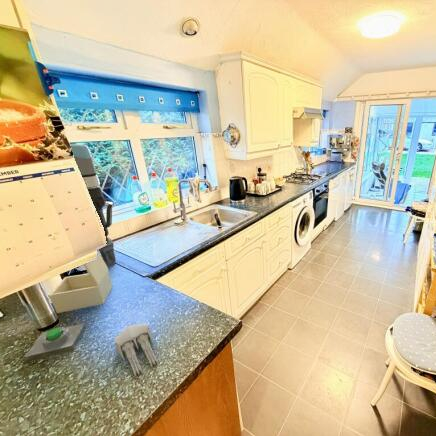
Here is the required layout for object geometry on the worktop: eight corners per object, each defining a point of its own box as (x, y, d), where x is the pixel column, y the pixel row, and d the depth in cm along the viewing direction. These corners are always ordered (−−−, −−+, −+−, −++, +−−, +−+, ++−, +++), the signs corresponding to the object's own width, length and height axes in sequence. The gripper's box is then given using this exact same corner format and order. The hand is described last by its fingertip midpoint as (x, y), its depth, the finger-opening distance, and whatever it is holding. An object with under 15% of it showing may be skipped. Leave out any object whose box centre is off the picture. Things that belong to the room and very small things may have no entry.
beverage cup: (99, 266, 125) (87, 232, 118) (111, 259, 132) (101, 226, 124) (109, 268, 123) (99, 233, 116) (122, 261, 130) (112, 228, 123)
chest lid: (75, 252, 88) (90, 248, 90) (88, 238, 99) (101, 235, 101) (96, 286, 95) (110, 281, 97) (106, 269, 106) (119, 266, 108)
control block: (26, 362, 74) (21, 352, 73) (44, 337, 83) (40, 328, 81) (73, 350, 78) (70, 341, 77) (86, 328, 87) (82, 319, 85)
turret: (130, 386, 70) (126, 377, 67) (113, 339, 81) (109, 330, 79) (165, 364, 76) (163, 355, 74) (145, 323, 88) (143, 314, 86)
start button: (45, 341, 77) (43, 337, 76) (51, 333, 80) (49, 329, 79) (59, 338, 78) (57, 334, 78) (64, 330, 81) (62, 326, 81)
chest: (56, 313, 93) (48, 295, 90) (71, 293, 104) (64, 277, 101) (103, 303, 99) (98, 286, 96) (113, 286, 110) (107, 270, 106)
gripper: (60, 191, 83) (82, 250, 91) (105, 188, 87) (121, 244, 96) (70, 186, 89) (89, 241, 98) (111, 183, 94) (126, 237, 102)
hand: (105, 243), depth 97 cm, fingers closed
